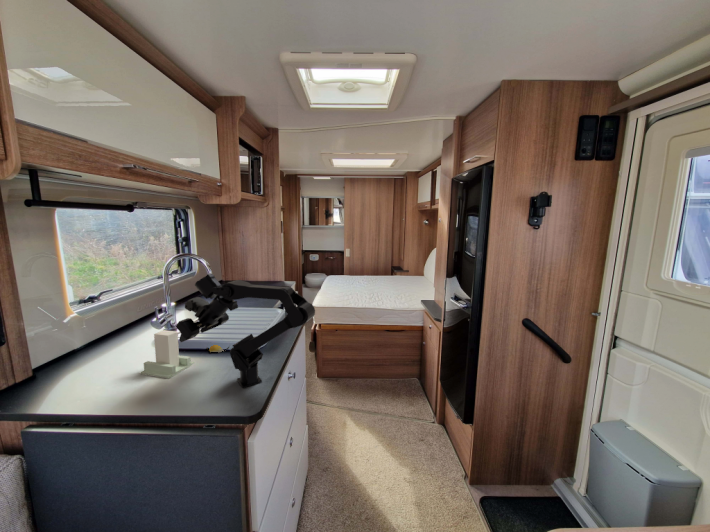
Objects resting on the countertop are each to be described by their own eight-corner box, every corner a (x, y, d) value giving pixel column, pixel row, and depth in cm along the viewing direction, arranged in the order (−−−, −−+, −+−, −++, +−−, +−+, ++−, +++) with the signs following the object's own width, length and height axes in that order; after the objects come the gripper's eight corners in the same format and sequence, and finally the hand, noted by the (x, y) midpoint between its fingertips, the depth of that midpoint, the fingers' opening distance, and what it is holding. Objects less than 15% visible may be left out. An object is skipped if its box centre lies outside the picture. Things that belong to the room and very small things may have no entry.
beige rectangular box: (179, 365, 103) (177, 331, 101) (170, 370, 99) (167, 335, 97) (166, 363, 104) (164, 330, 103) (156, 368, 100) (154, 333, 99)
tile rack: (193, 364, 106) (193, 355, 105) (168, 378, 95) (168, 369, 95) (167, 360, 108) (167, 351, 108) (140, 374, 98) (139, 364, 97)
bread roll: (211, 355, 114) (211, 346, 113) (205, 348, 121) (205, 339, 120) (232, 350, 119) (232, 341, 119) (225, 343, 126) (225, 335, 125)
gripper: (220, 285, 104) (197, 312, 107) (179, 296, 85) (152, 327, 89) (240, 307, 103) (215, 333, 107) (202, 323, 85) (174, 354, 88)
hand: (191, 336), depth 98 cm, fingers open, 9 cm apart
